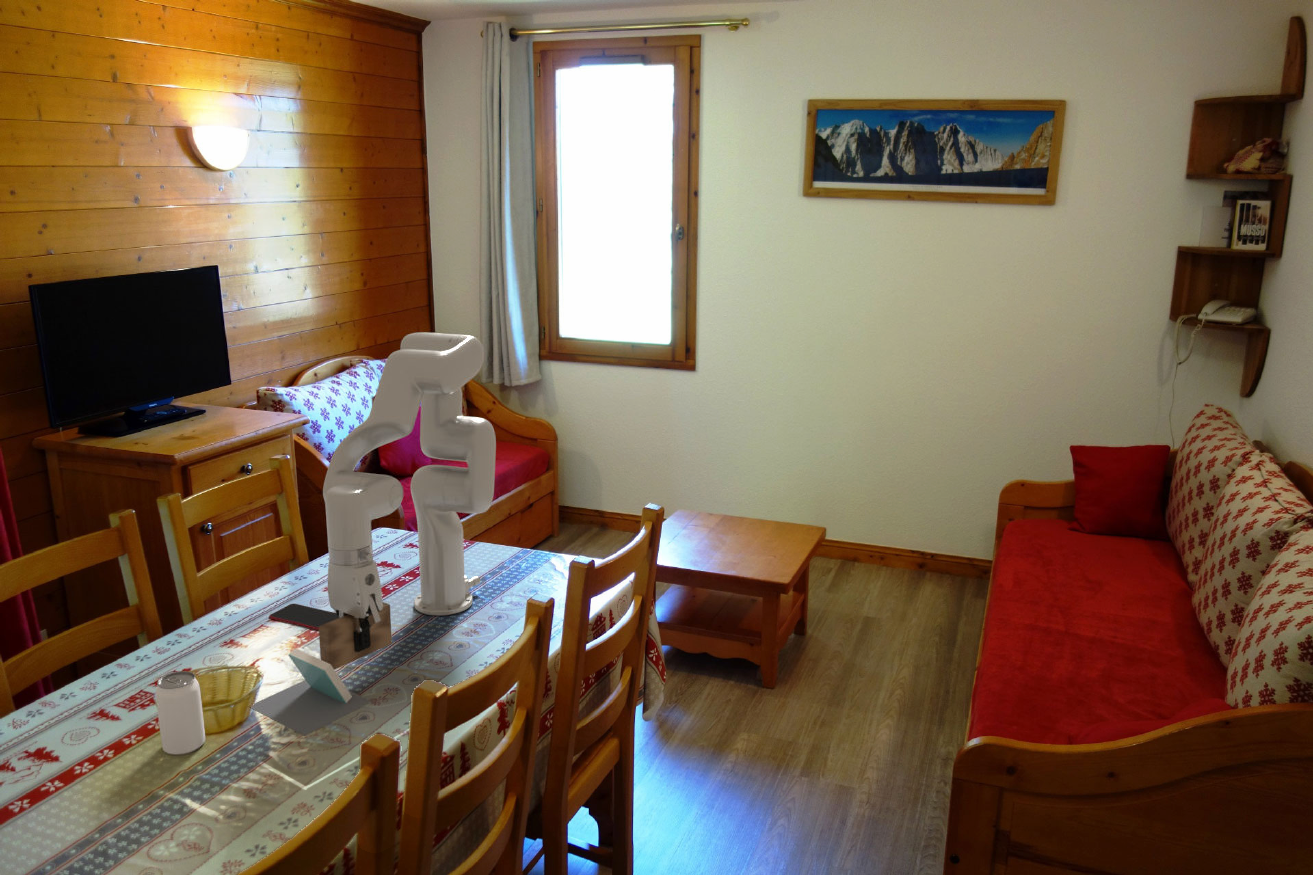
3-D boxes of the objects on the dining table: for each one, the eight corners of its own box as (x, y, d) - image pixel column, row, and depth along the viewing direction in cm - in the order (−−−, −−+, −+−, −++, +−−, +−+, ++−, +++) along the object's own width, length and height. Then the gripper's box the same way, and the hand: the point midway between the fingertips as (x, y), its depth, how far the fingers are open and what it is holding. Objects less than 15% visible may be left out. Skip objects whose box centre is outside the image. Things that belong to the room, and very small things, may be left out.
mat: (315, 676, 185) (315, 675, 185) (371, 703, 176) (371, 701, 176) (248, 708, 174) (248, 706, 174) (304, 737, 165) (304, 735, 165)
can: (177, 760, 158) (169, 693, 155) (154, 748, 162) (145, 682, 159) (214, 742, 164) (206, 676, 161) (190, 730, 167) (182, 666, 164)
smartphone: (292, 602, 216) (346, 615, 210) (292, 606, 216) (347, 619, 210) (267, 615, 209) (322, 629, 204) (267, 619, 210) (322, 633, 204)
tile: (316, 680, 182) (294, 648, 177) (352, 696, 176) (330, 664, 171) (310, 686, 181) (288, 654, 176) (345, 703, 175) (323, 671, 170)
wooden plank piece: (382, 640, 189) (381, 601, 187) (391, 643, 187) (389, 604, 185) (321, 667, 177) (318, 626, 175) (330, 671, 176) (327, 630, 174)
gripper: (397, 556, 176) (402, 651, 181) (339, 537, 185) (345, 628, 189) (363, 569, 170) (369, 667, 175) (304, 549, 179) (312, 642, 183)
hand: (357, 645), depth 182 cm, fingers closed on wooden plank piece, 2 cm apart
